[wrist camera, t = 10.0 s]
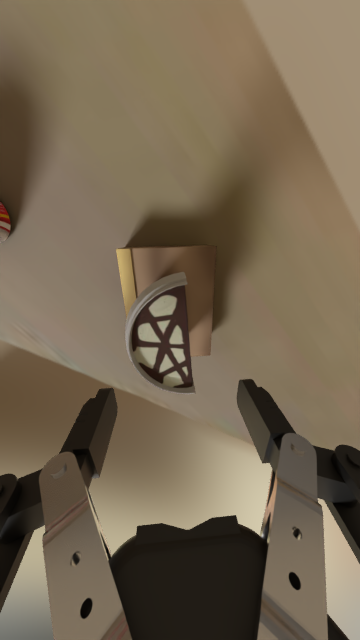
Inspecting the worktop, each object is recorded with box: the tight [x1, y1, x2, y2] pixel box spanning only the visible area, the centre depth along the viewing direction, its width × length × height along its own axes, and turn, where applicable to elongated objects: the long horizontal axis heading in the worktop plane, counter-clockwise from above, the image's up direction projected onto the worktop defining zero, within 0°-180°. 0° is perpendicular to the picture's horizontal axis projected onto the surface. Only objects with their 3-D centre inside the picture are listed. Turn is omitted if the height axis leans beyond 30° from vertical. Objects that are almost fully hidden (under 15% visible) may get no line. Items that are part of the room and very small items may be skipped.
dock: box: [116, 245, 217, 357], centre depth 27 cm, size 12×16×5 cm
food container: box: [125, 272, 196, 394], centre depth 21 cm, size 12×6×10 cm, turn 5°
